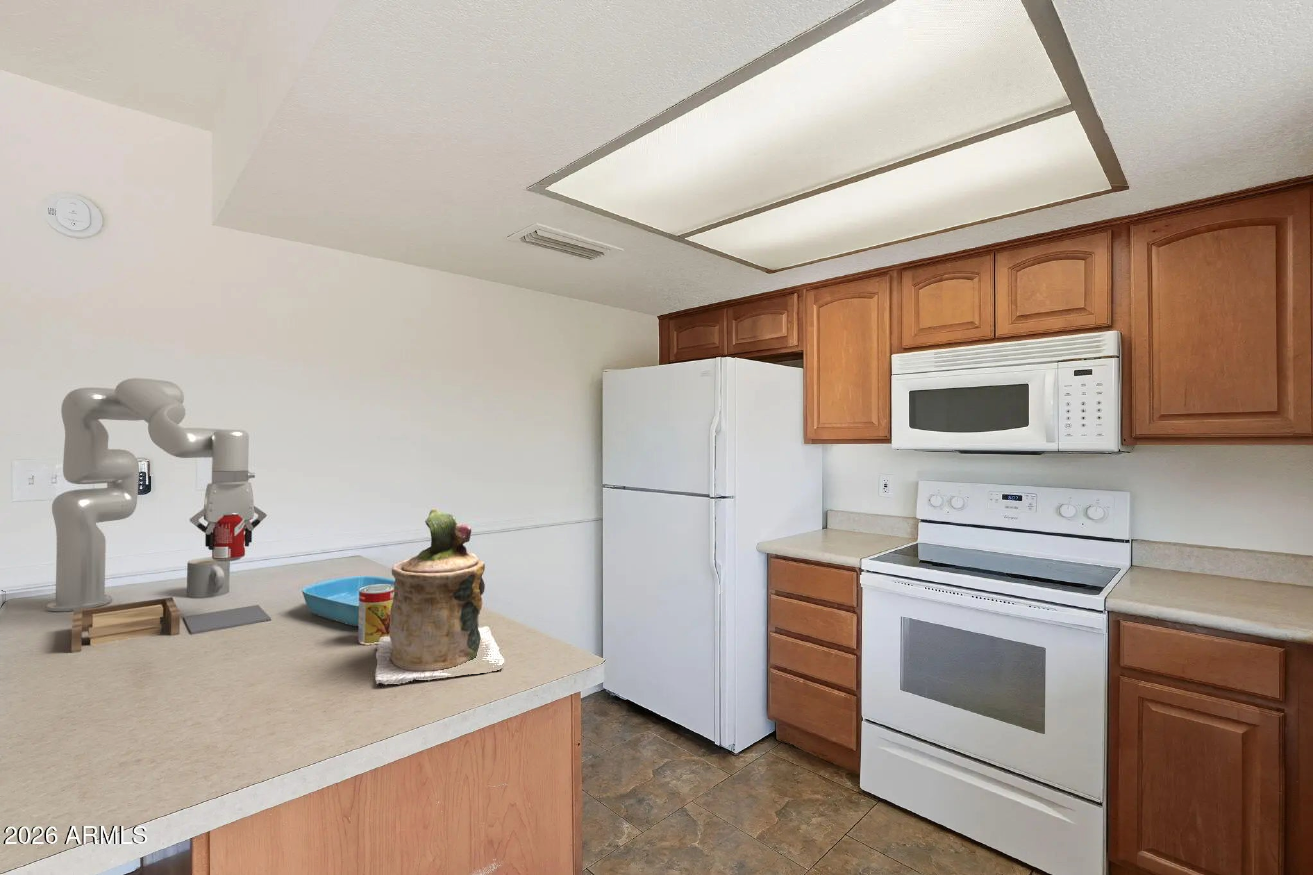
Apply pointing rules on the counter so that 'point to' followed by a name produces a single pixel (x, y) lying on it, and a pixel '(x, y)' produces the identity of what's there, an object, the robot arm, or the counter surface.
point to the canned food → (374, 612)
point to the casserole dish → (340, 597)
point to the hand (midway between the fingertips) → (228, 546)
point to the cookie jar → (435, 609)
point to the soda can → (229, 538)
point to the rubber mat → (225, 619)
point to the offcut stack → (125, 624)
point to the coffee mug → (207, 578)
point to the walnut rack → (85, 615)
